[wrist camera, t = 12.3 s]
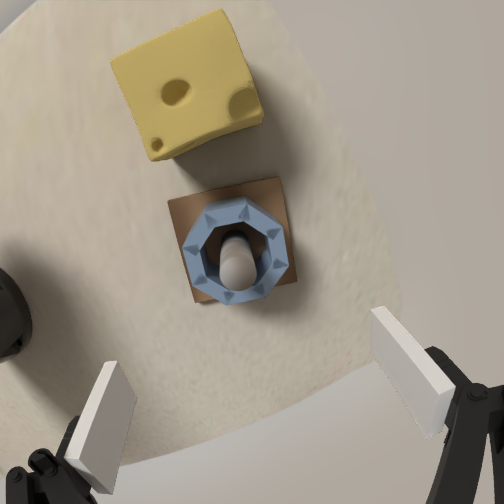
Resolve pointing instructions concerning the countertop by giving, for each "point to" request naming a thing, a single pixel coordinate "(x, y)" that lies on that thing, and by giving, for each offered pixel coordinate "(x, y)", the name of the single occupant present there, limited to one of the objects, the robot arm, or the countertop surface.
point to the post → (234, 233)
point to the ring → (208, 272)
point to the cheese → (188, 86)
